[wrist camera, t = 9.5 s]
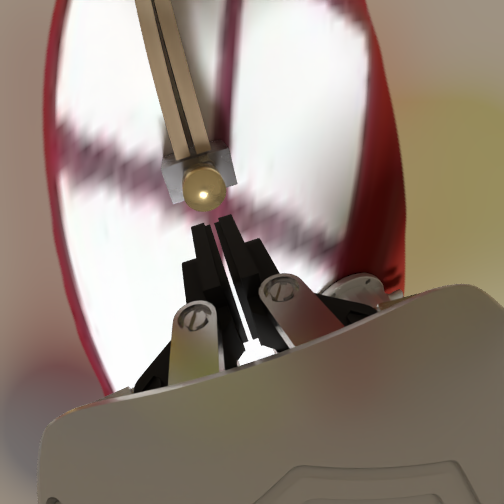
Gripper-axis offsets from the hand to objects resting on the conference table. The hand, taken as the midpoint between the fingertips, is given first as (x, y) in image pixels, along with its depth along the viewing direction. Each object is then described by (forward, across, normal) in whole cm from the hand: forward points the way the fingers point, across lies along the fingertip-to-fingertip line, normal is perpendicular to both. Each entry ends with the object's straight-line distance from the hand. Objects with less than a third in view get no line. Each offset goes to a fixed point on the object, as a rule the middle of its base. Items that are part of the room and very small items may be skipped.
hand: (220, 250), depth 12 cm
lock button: (+9, 0, 0) cm, 9 cm away
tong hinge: (+15, 0, 0) cm, 15 cm away
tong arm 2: (+14, +1, -10) cm, 18 cm away
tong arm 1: (+14, -1, -10) cm, 18 cm away
